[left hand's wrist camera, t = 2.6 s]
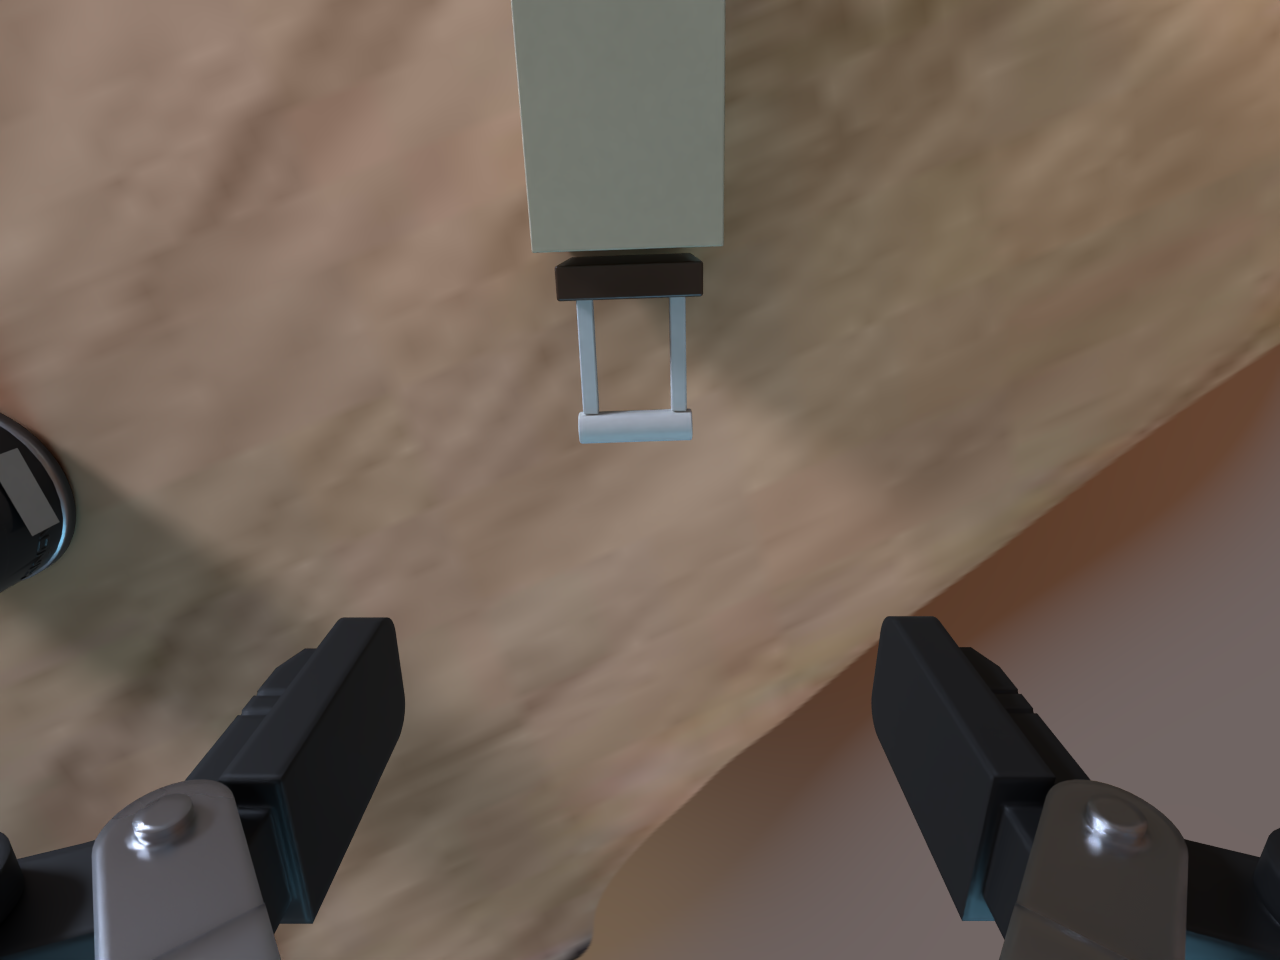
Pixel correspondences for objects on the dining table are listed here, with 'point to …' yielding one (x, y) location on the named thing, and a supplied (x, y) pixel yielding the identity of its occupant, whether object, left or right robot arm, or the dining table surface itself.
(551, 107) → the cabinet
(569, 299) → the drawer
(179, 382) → the dining table surface
